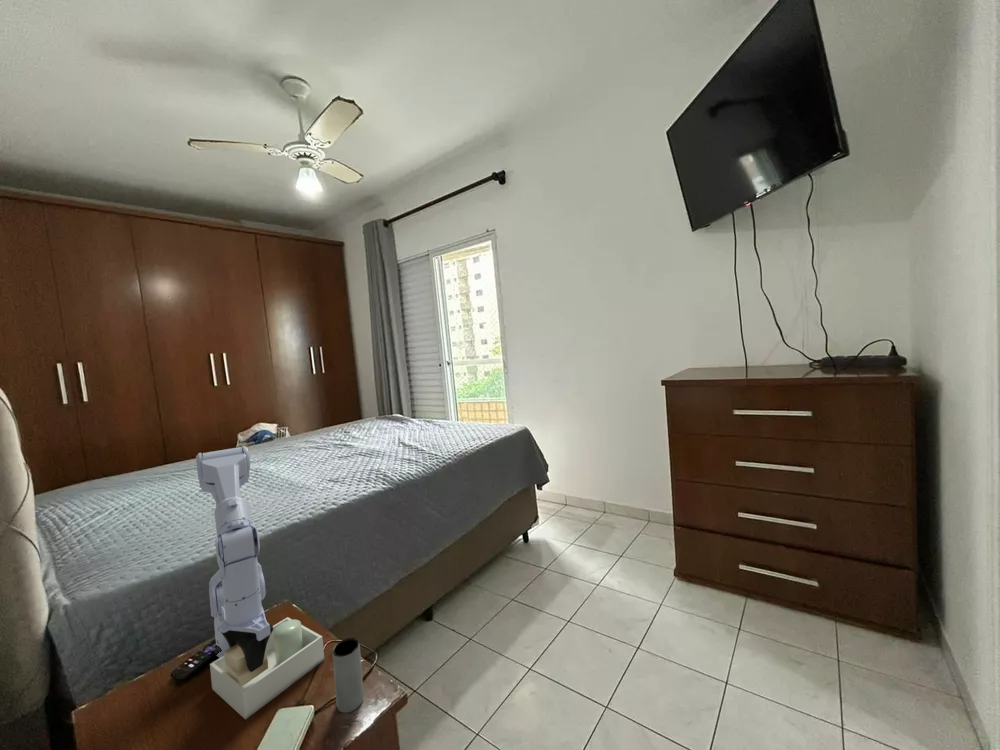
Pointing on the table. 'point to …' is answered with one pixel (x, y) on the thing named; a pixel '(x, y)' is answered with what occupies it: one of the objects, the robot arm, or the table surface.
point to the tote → (267, 674)
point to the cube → (241, 665)
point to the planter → (348, 674)
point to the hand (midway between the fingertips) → (248, 662)
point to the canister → (287, 640)
